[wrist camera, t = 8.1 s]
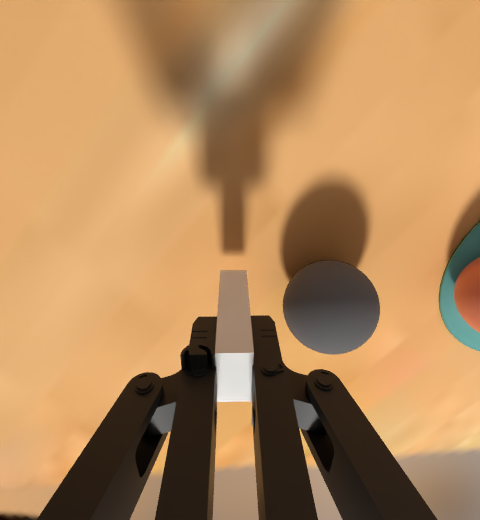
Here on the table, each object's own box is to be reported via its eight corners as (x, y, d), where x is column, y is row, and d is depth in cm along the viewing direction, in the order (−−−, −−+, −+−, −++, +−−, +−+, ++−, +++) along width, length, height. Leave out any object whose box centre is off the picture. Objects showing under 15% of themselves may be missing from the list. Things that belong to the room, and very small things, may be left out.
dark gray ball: (405, 307, 14) (383, 253, 19) (287, 284, 15) (294, 238, 20) (369, 385, 17) (357, 321, 22) (271, 362, 18) (281, 305, 22)
